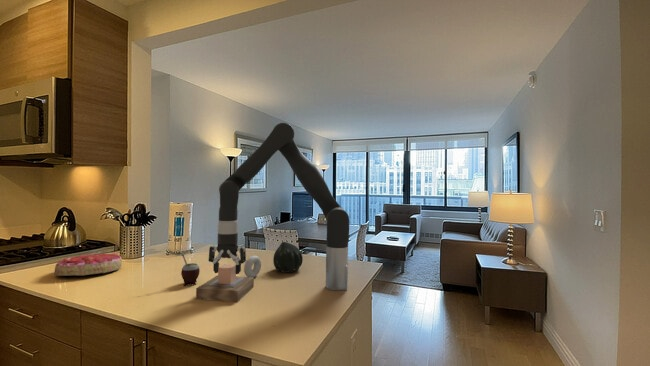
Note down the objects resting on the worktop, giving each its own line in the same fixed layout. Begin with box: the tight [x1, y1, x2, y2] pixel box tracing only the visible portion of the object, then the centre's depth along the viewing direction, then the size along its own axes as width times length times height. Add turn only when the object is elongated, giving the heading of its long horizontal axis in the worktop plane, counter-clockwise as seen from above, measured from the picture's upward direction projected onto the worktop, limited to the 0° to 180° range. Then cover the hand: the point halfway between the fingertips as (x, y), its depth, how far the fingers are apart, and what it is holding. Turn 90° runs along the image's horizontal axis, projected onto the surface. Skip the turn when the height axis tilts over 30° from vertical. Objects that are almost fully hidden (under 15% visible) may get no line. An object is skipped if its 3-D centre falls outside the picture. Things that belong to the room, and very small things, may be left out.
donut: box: [243, 255, 262, 278], centre depth 135 cm, size 10×4×10 cm, turn 153°
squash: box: [273, 241, 304, 273], centre depth 147 cm, size 14×15×15 cm
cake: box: [53, 252, 123, 278], centre depth 139 cm, size 25×25×8 cm
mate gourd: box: [175, 249, 200, 287], centre depth 125 cm, size 8×8×15 cm
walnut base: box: [195, 275, 255, 303], centre depth 115 cm, size 16×16×4 cm
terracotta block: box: [217, 263, 237, 284], centre depth 115 cm, size 5×5×6 cm
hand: (226, 273), depth 115 cm, fingers open, 8 cm apart
